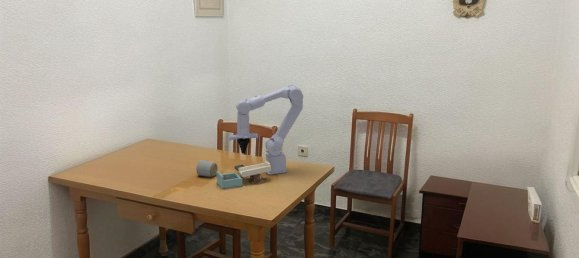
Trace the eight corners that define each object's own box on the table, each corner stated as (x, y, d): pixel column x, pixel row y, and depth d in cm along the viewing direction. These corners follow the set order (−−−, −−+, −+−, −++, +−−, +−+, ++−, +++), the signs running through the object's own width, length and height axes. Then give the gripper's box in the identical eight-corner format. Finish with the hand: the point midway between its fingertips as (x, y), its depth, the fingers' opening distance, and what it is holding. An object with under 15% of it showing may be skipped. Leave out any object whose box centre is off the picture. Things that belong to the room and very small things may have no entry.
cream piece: (260, 162, 244) (260, 155, 243) (271, 171, 232) (270, 163, 231) (233, 168, 239) (233, 161, 238) (242, 177, 227) (242, 169, 226)
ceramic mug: (211, 179, 235) (211, 163, 234) (196, 177, 238) (195, 162, 236) (221, 172, 245) (221, 157, 243) (206, 171, 248) (206, 156, 246)
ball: (221, 174, 228) (221, 183, 229) (224, 177, 224) (224, 186, 225) (230, 174, 229) (230, 182, 230) (233, 176, 226) (232, 185, 227)
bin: (236, 180, 234) (236, 168, 232) (242, 186, 226) (242, 173, 225) (216, 183, 230) (216, 171, 229) (222, 189, 222) (221, 176, 221)
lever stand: (258, 177, 238) (257, 169, 237) (264, 182, 231) (263, 174, 230) (246, 179, 235) (246, 171, 234) (251, 184, 228) (251, 176, 227)
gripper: (231, 129, 231) (231, 157, 234) (260, 126, 237) (260, 154, 240) (226, 125, 237) (226, 153, 240) (255, 123, 243) (255, 150, 246)
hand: (243, 153), depth 241 cm, fingers closed
